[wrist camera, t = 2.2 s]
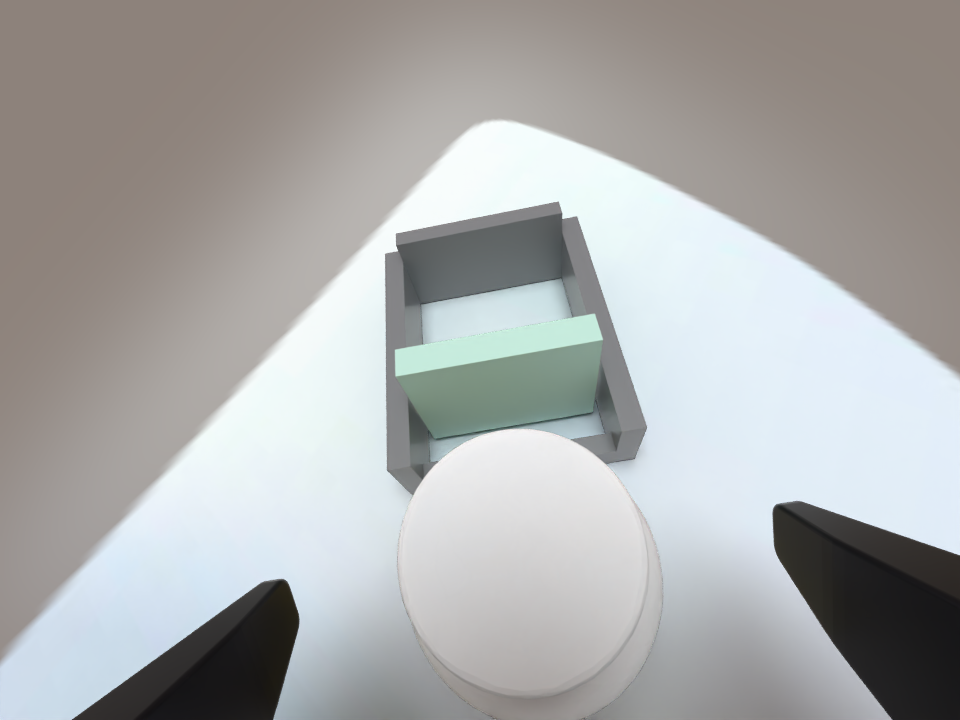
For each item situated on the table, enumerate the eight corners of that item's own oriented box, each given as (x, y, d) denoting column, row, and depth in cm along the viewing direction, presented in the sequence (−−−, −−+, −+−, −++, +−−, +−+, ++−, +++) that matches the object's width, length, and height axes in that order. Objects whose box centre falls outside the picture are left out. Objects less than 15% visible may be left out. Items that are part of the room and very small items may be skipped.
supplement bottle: (428, 604, 16) (286, 566, 8) (525, 481, 18) (494, 339, 9) (560, 738, 14) (559, 893, 5) (656, 580, 15) (770, 509, 7)
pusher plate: (592, 412, 18) (602, 339, 14) (434, 438, 19) (395, 376, 14) (586, 390, 19) (594, 313, 14) (432, 416, 19) (394, 349, 15)
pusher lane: (634, 458, 17) (652, 414, 14) (411, 494, 18) (376, 460, 15) (574, 264, 23) (577, 197, 19) (404, 296, 23) (377, 237, 20)
